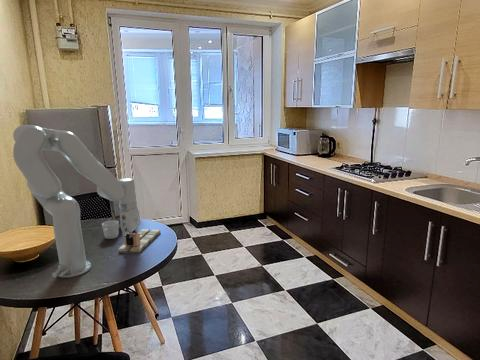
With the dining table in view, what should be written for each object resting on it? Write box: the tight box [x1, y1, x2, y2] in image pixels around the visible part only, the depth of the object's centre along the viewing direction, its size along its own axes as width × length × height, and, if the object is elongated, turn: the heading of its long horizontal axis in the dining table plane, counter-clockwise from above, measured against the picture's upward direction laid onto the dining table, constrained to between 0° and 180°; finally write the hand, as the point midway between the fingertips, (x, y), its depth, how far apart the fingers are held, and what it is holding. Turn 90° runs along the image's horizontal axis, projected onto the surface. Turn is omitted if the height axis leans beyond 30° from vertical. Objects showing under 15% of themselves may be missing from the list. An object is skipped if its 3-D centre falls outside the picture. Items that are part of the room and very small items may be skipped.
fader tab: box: [123, 232, 140, 247], centre depth 145 cm, size 4×6×6 cm, turn 81°
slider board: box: [117, 228, 161, 255], centre depth 154 cm, size 24×10×2 cm, turn 171°
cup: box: [101, 220, 120, 240], centre depth 159 cm, size 11×8×8 cm
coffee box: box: [109, 200, 121, 229], centre depth 176 cm, size 9×6×16 cm
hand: (132, 242), depth 146 cm, fingers closed on fader tab, 3 cm apart
